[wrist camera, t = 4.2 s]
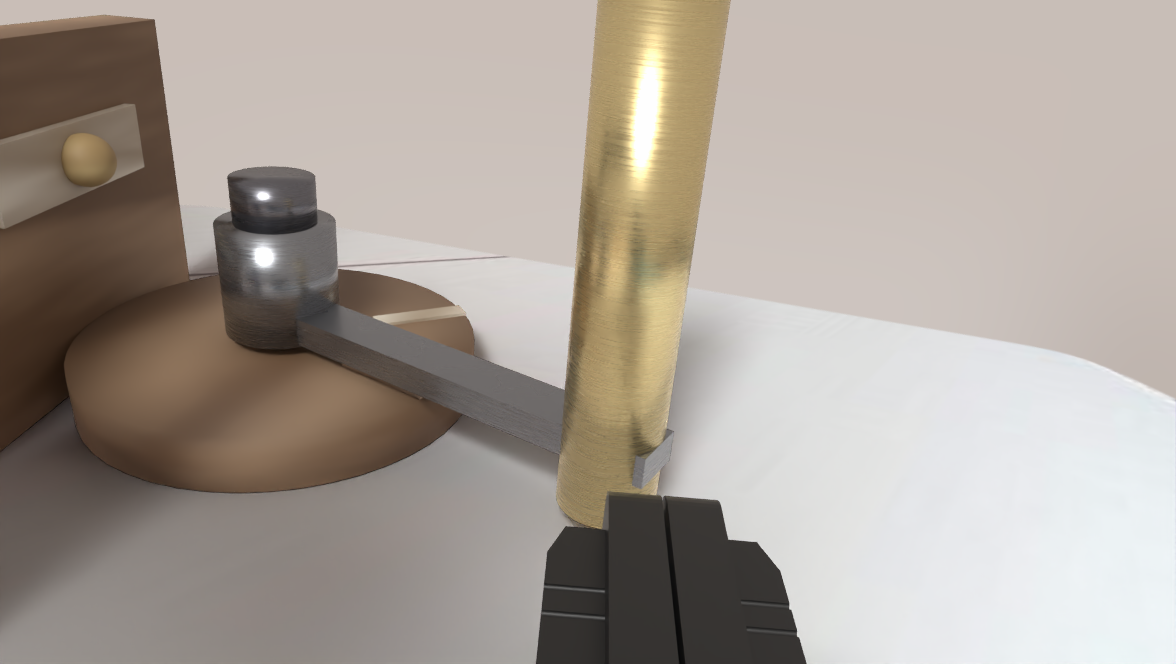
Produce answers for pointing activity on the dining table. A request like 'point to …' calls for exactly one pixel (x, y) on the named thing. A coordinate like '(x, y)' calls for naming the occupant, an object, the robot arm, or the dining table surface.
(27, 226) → the stand
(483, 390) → the crank handle
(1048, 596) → the dining table surface
